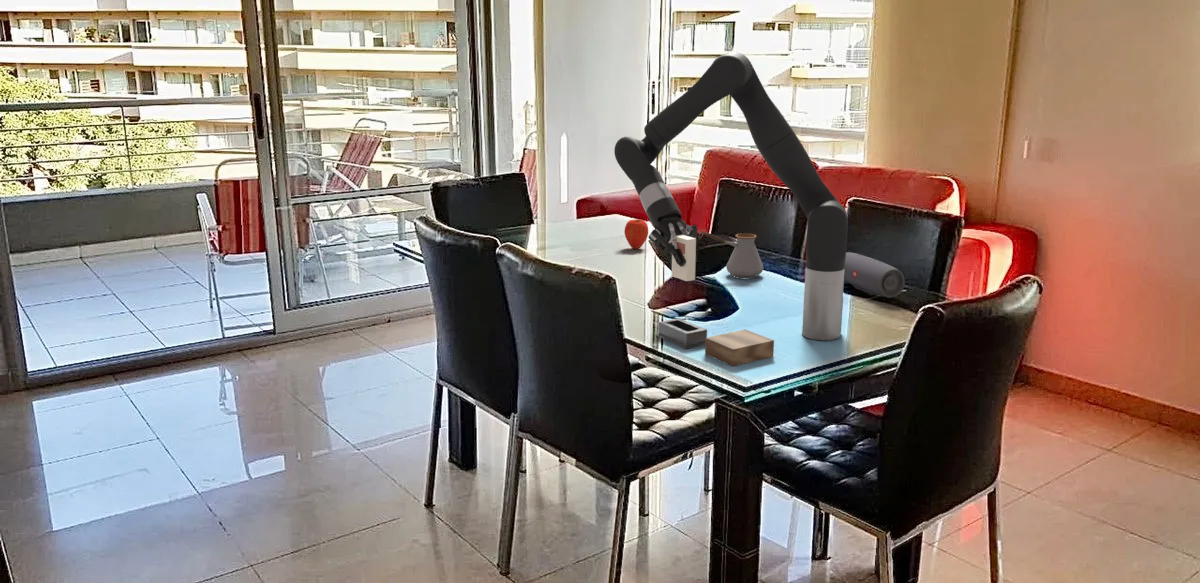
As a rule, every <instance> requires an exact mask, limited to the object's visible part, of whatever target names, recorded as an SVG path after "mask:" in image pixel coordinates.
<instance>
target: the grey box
mask: <svg viewBox="0 0 1200 583" xmlns="http://www.w3.org/2000/svg"><path fill="white" fill-rule="evenodd" d="M655 336H656V337H657V338H660V339H662V340H664V341H665V342H666V341H667V342H668V343H671V344H673V345H674V346H677V347H680V348H683V349H684V350H688V349H692V348H697V347H702V345H703V346H705V339H706V338H707V337H708V329H706V328H704V327H701V326H700V325H697V324H694V323H692V322H690V321H687V320H684V319H682V318H679V317H678V318H677V317H676V318H673V319H668V320H667V319H666V320H663V321H658V332H656V333H655Z"/></svg>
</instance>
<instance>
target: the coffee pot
mask: <svg viewBox="0 0 1200 583" xmlns="http://www.w3.org/2000/svg"><path fill="white" fill-rule="evenodd" d="M700 235H701V237H700V239H702V237H703V236H705V237H706V238H710V239H712V240H714V241H718V242H721V243H723V244H727V245H730V246H732V247H734V249H733V251H732V253H731V254H730V257H729V259H728V261H727V263H726V266H725V268H726V270H727V272H728V274H730V275H731V276H732V275H733V276H735V277H738V278H737V279H739V278H752V279H756V278H758V276H759V275H760V274H761V273H762V272H763V270H764V265H763V264H764V263H763V262H762V259H761V257H760V255H759V252H758V249H757V247H756V244H755V240H756V238H757V235H756V234H753V233H737V234H735V238H736V240H737V242H736V243H734V242H731V241H728V240H726V239H724V238H721V237H719V236H717V235H715V234H710V232H709V233H707V232H704V231H700V232H699V234H698V236H700ZM733 276H732V277H733ZM735 277H734V278H735ZM755 277H756V278H755Z"/></svg>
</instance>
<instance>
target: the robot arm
mask: <svg viewBox="0 0 1200 583" xmlns="http://www.w3.org/2000/svg"><path fill="white" fill-rule="evenodd" d="M728 96H730V97H731V98H732V99H733V101H734V102H735V103H736V105H737V106H738V107H739V109H740V110H741V112H742V115H743V116H744V119H745V121H746V124H747V126H748V129H749V132H750V135H751V137H752V139H753V142H754V144H755V146H756V148H757V150H758V151H759V153H760V155H761V156H762V159H764V161H765V162H766V163H767V165H768V166H769V168H770V169H771V171H772V172H773V173H774V174H775V175H776V177H778V178H779V179H780V181H781V182H782V183H783V184H784V185H785V186H786V188H788V189H789V190H790V191H791V193H792V194H793V195H794V197H795V198H796V200H797V201H798V203H799V205H800V207H801V209H802V210H803V213H804V216H806V219H807V225H806V226H807V228H806V230H807V232H806V246H805V248H806V249H805V272H804V273H805V274H804V289H803V290H804V292H803V308H802V309H803V311H802V312H803V313H802V325H801V326H802V327H801V332H802V333H801V334H802V336H803V337H806V338H807V339H809V340H815V341H816V340H817V341H832V340H833V341H834V340H838V339H839V338H841V333H842V325H843V324H842V322H843V309H844V308H843V307H844V306H843V305H844V287H845V286H844V285H845V280H844V270H845V259H846V253H847V242H848V231H849V230H848V229H849V219H848V214H847V211H846V209H845V207H844V206H843V205H842V204H841V203H840V201H839V200H838V199H837V198H836V197H835V196H834V195H833V193H832V192H831V191H830V190H829V188H828V187H827V186H826V184H825V183H824V182H823V180H822V179H821V177H820V175H819V174H818V172H817V170H816V168H815V165H814V164H813V162H812V159H811V158H810V156H809V154H808V153H807V150H806V149H805V147H804V146H803V143H802V141H801V140H800V138H799V137H798V136H797V134H796V133H795V131H794V129H793V128H792V127H791V125H790V124H789V122H788V120H786V118H785V117H784V115H783V114H782V112H781V111H780V110H779V108H778V107H777V106H776V104H775V103H774V102H773V100H772V99H771V97H770V96H769V94H768V93H767V91H766V89H765V87H764V86H763V83H762V82H761V79H760V78H759V76H758V74H757V72H756V70H755V68H754V66H753V64H752V62H751V61H750V59H749V58H748V57H747V56H746V55H745V54H743V53H741V52H738V51H729V52H726V53H723V54H721V55H719V56H717V57H716V58H715V59H714V60H713V62H712V64H711V65H710V66H709V67H708V68H707V69H706V71H705V72H704V73H703V74H702V75H701V77H700V78H699V79H697V81H696V82H695V83H694V84H693V85H692V86H691V87H690V88H689V89H688V90H687V91H685V92H684V93H683V94H682V95H681V96H679V97H678V98H677V99H675V100H674V101H673V102H671V103H670V104H669V105H667V106H666V107H665V108H664V109H663V110H661V111H660V112H659V113H657V115H655V116H654V117H653V118H652V119H651V120H649V121H648V122H647V124H646V125H645V126H644V129H643V130H644V135H645V136H644V137H643V138H642V139H641V140H640V139H637V138H635V137H632V136H622V137H621V138H619V139H618V140H617V141H616V143H615V146H614V159H615V161H616V162H617V164H618V165H619V167H620V169H621V170H622V171H623V173H624V174H625V175H626V176H627V178H628V179H629V180H630V181H631V182H632V184H633V185H634V186H633V187H634V188H635V190H636V193H637V195H638V196H639V200H640V202H641V205H642V207H643V209H644V211H645V213H646V215H647V217H648V219H649V221H650V224H651V226H652V227H653V230H652V231H651V232H650V233H649V234H648V239H649V240H650V241H651V242H652V243H653V244H655V246H656V247H658V248H659V250H660V251H661V252H662V253H664V254H667V253H669V254H671V256H672V255H673V256H674V258H675V261H676V263H677V264H678V265H679V266H680V267H682V266H684V265H685V264H686V260H685V258H684V256H683V254H682V252H681V250H680V249H679V246H678V243H677V238H676V235H685V236H688V237H692V238H696V245H697V244H698V226H697V225H696V224H693V225H689V224H687V223H686V221H684V220H683V219H682V212H681V210H680V209H679V207H678V204H677V202H676V201H675V198H674V197H673V195H672V193H671V190H670V189H669V188H668V186H667V185H666V183H665V181H664V179H663V177H662V175H661V174H660V172H659V170H658V169H657V168H656V167H655V166H653V165H652V163H653V162H654V161H655V160H656V159H657V157H658V156H659V155H660V154H661V153H662V151H663V149H664V148H665V146H666V145H667V144H669V143H670V142H671V141H673V140H674V139H675V138H676V137H677V136H678V135H680V134H681V133H682V132H683V131H684V130H686V129H687V128H688V127H689V126H690V125H691V124H692V123H693V122H694V121H695V120H696V119H697V118H698V117H699V116H700V115H701V114H702V113H703V112H705V111H706V110H707V109H709V108H710V107H712V105H714V104H715V103H717V102H719V101H721V100H722V99H724V98H726V97H728ZM697 261H698V256H697V255H696V259H695V264H696V263H697Z"/></svg>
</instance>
